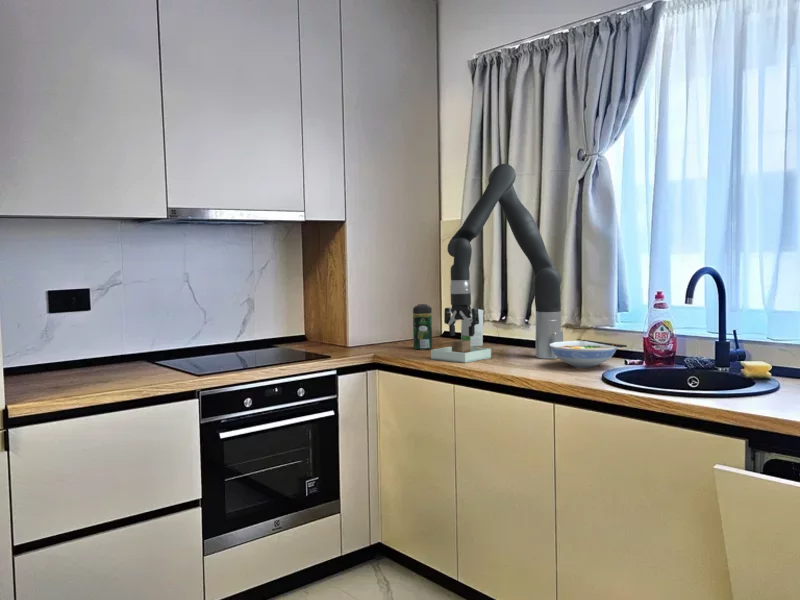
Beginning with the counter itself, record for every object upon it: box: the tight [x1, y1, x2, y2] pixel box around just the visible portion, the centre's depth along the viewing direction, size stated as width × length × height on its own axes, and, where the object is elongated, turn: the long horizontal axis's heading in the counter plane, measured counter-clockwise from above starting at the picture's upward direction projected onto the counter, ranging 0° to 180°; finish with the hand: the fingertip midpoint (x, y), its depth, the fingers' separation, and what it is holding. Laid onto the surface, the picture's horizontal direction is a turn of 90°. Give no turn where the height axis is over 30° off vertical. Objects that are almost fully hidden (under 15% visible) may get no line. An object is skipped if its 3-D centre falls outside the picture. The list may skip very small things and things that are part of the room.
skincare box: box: [460, 307, 484, 347], centre depth 294 cm, size 8×7×16 cm
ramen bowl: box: [550, 338, 628, 369], centre depth 234 cm, size 25×23×8 cm
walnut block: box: [451, 339, 471, 353], centre depth 256 cm, size 5×5×6 cm
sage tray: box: [430, 345, 492, 364], centre depth 256 cm, size 16×16×4 cm
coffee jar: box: [412, 303, 433, 351], centre depth 286 cm, size 10×8×19 cm
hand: (461, 335), depth 255 cm, fingers open, 8 cm apart
